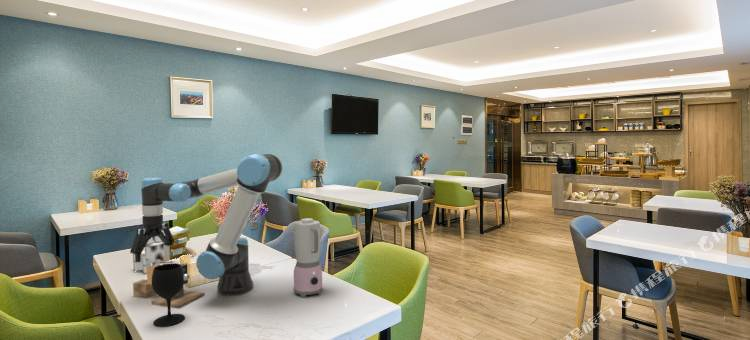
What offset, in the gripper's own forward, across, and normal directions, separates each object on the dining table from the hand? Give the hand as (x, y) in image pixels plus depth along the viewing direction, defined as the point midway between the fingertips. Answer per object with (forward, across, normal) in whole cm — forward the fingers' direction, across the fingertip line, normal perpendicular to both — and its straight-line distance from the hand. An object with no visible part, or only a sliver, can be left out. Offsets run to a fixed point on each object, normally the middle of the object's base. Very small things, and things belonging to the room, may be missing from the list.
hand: (154, 264), depth 167 cm
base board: (+14, 0, +12) cm, 18 cm away
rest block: (+14, 0, -6) cm, 15 cm away
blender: (+13, -22, +62) cm, 67 cm away
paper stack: (+15, -51, -41) cm, 67 cm away
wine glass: (+14, +17, +24) cm, 33 cm away
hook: (+8, 0, +8) cm, 11 cm away
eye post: (+12, 0, +12) cm, 18 cm away
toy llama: (+14, -26, -32) cm, 43 cm away
